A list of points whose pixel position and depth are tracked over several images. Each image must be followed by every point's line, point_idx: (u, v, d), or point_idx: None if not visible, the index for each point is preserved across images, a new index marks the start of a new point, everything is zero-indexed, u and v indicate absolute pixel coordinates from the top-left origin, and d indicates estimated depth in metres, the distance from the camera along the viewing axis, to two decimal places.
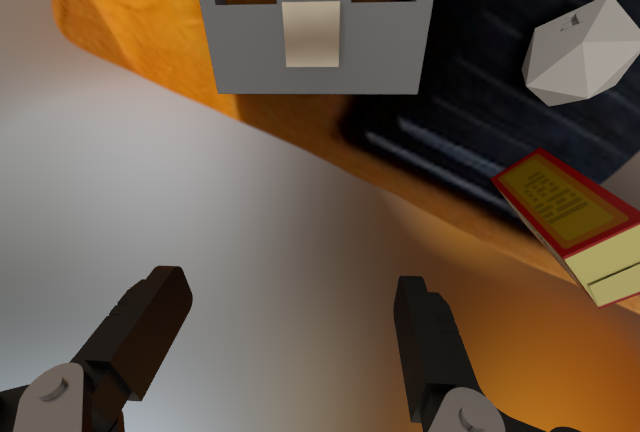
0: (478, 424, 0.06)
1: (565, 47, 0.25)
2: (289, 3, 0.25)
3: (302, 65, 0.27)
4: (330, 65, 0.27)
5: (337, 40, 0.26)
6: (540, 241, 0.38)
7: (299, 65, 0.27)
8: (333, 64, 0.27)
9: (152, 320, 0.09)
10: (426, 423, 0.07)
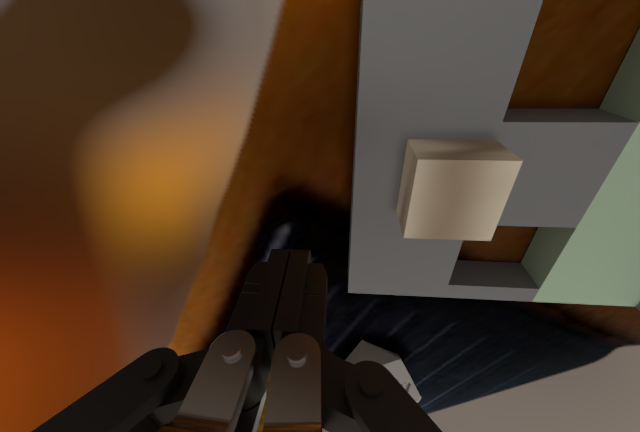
0: (300, 356, 0.07)
1: None
2: (516, 173, 0.14)
3: (415, 187, 0.15)
4: (407, 227, 0.17)
5: (440, 237, 0.17)
6: None
7: (416, 182, 0.15)
8: (408, 231, 0.17)
9: None
10: None
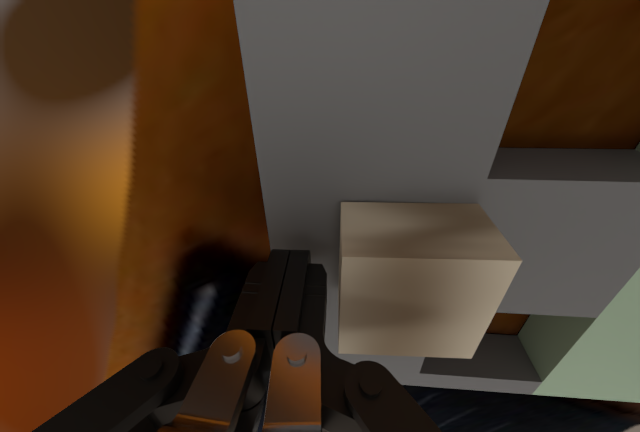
0: (300, 356, 0.07)
1: None
2: (510, 277, 0.08)
3: (344, 293, 0.09)
4: (342, 342, 0.11)
5: (395, 353, 0.11)
6: None
7: (345, 286, 0.09)
8: (344, 345, 0.11)
9: None
10: None
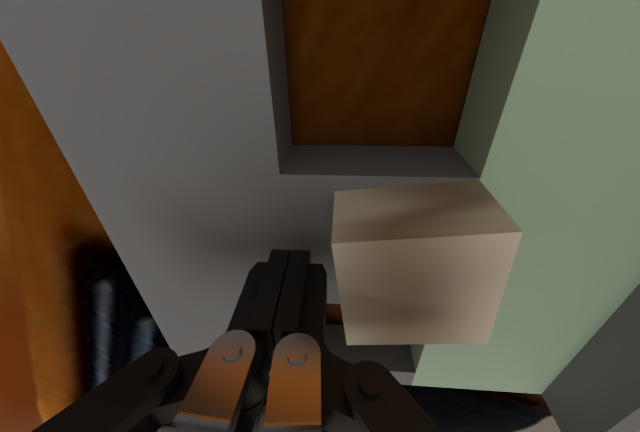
0: (300, 356, 0.07)
1: None
2: (513, 251, 0.08)
3: (341, 281, 0.09)
4: (348, 333, 0.10)
5: (404, 341, 0.10)
6: None
7: (340, 274, 0.09)
8: (351, 336, 0.11)
9: None
10: None
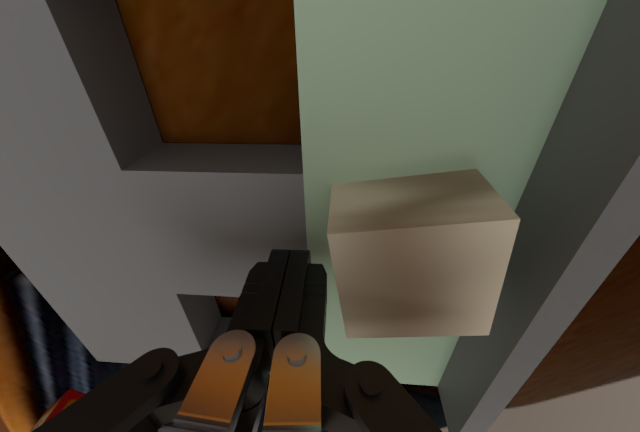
0: (300, 356, 0.07)
1: None
2: (511, 239, 0.08)
3: (338, 273, 0.09)
4: (347, 326, 0.10)
5: (404, 334, 0.10)
6: None
7: (337, 266, 0.09)
8: (350, 329, 0.11)
9: None
10: None
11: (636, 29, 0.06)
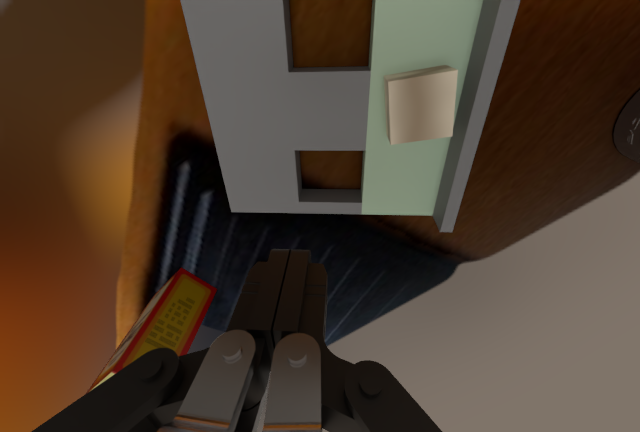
0: (300, 356, 0.07)
1: None
2: (455, 79, 0.21)
3: (390, 103, 0.23)
4: (391, 136, 0.24)
5: (416, 139, 0.24)
6: (136, 321, 0.43)
7: (390, 99, 0.22)
8: (392, 139, 0.24)
9: None
10: None
11: (489, 2, 0.20)
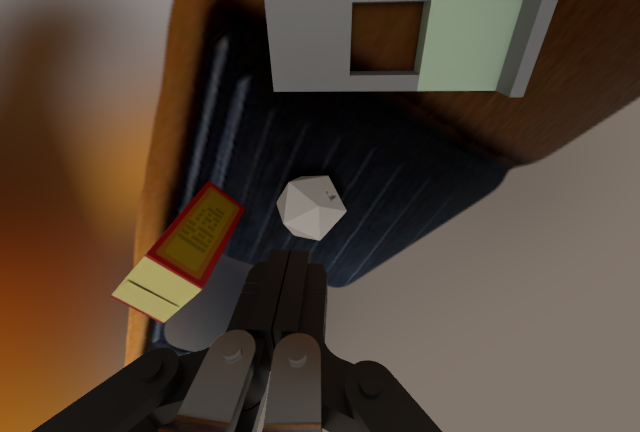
0: (300, 356, 0.07)
1: (315, 198, 0.34)
2: None
3: None
4: None
5: None
6: None
7: None
8: None
9: None
10: None
11: None
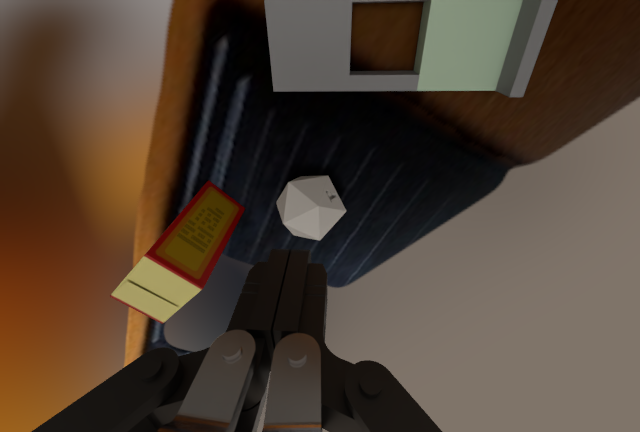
0: (300, 356, 0.07)
1: (315, 198, 0.34)
2: None
3: None
4: None
5: None
6: None
7: None
8: None
9: None
10: None
11: None
